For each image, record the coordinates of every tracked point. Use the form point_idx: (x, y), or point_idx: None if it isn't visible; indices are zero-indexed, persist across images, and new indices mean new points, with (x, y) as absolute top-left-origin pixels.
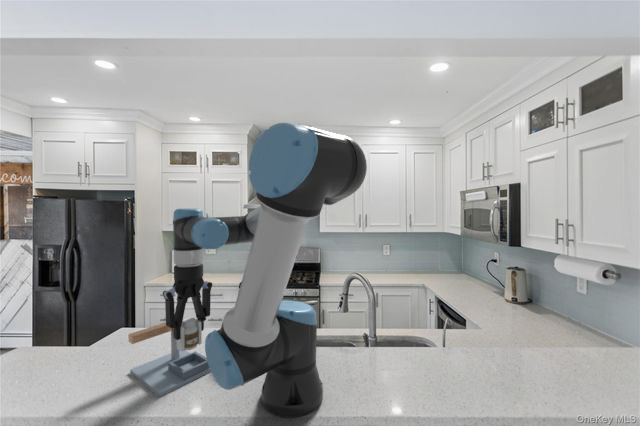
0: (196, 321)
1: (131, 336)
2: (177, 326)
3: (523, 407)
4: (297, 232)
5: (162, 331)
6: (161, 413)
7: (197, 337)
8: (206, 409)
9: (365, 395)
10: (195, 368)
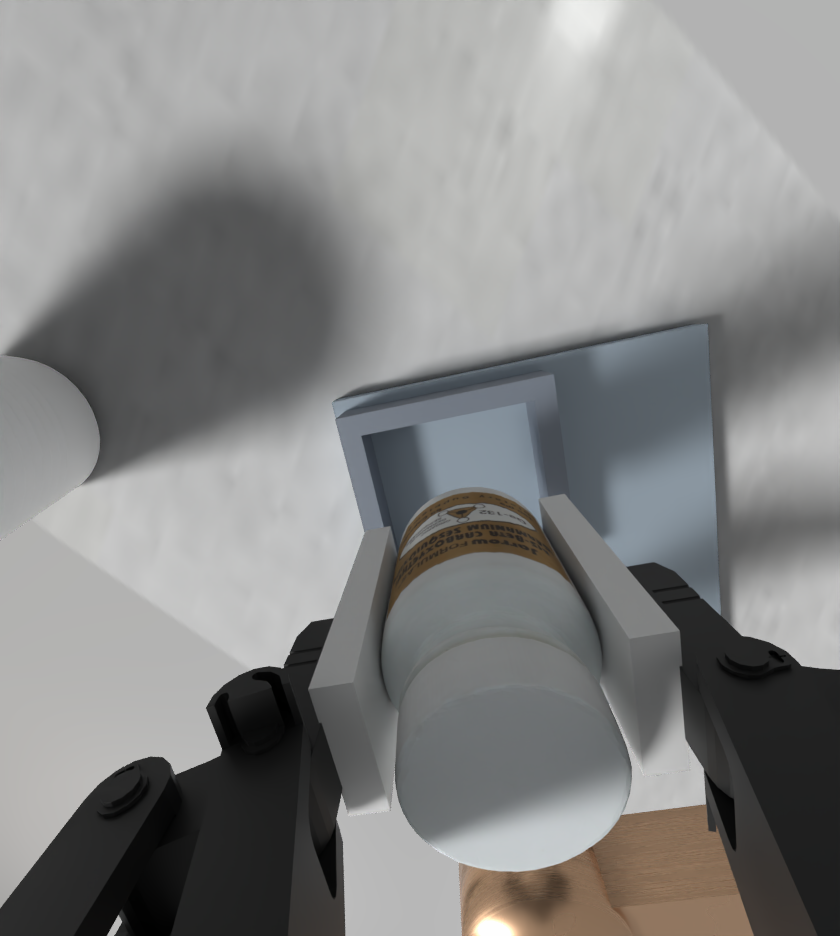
0: (373, 740)
1: None
2: (790, 662)
3: None
4: None
5: (700, 833)
6: (747, 140)
7: (400, 559)
8: None
9: None
10: (458, 393)
